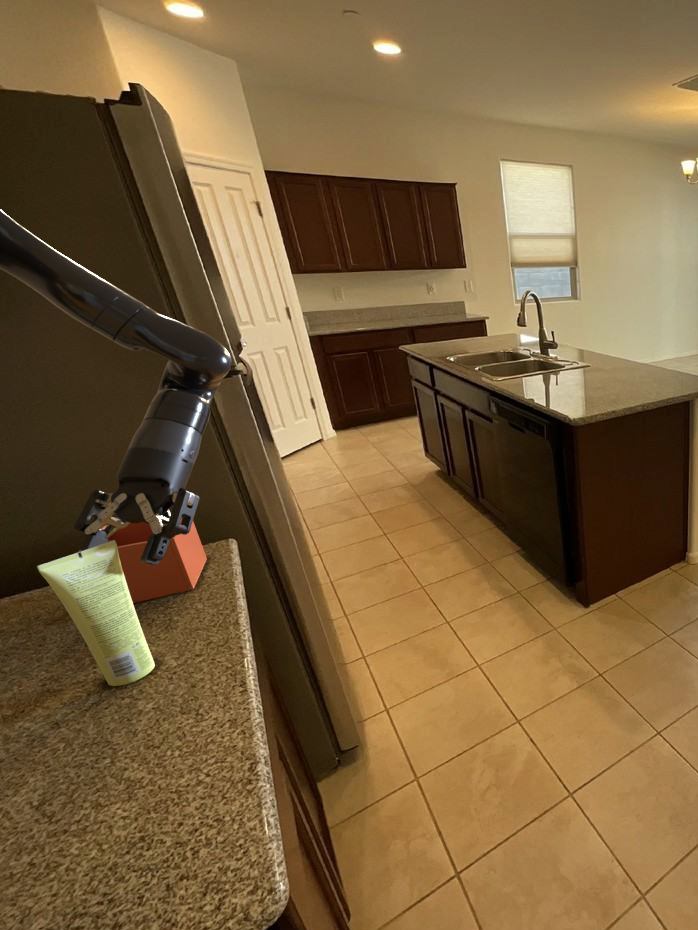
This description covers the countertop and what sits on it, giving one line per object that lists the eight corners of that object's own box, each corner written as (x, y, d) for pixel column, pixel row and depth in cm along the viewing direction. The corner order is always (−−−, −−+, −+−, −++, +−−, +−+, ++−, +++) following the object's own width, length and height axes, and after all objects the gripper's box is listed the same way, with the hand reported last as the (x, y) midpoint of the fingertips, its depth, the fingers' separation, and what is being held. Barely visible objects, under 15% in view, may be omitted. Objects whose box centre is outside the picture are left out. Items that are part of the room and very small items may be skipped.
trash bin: (100, 612, 87) (74, 556, 83) (124, 578, 97) (101, 526, 93) (194, 591, 92) (173, 537, 88) (207, 560, 102) (189, 510, 98)
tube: (123, 665, 75) (66, 545, 67) (166, 657, 76) (115, 538, 69) (99, 693, 70) (35, 566, 62) (146, 683, 71) (88, 559, 64)
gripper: (89, 445, 74) (37, 556, 67) (188, 444, 74) (145, 556, 67) (137, 467, 81) (94, 570, 74) (228, 466, 80) (192, 570, 74)
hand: (118, 563), depth 71 cm, fingers open, 8 cm apart
